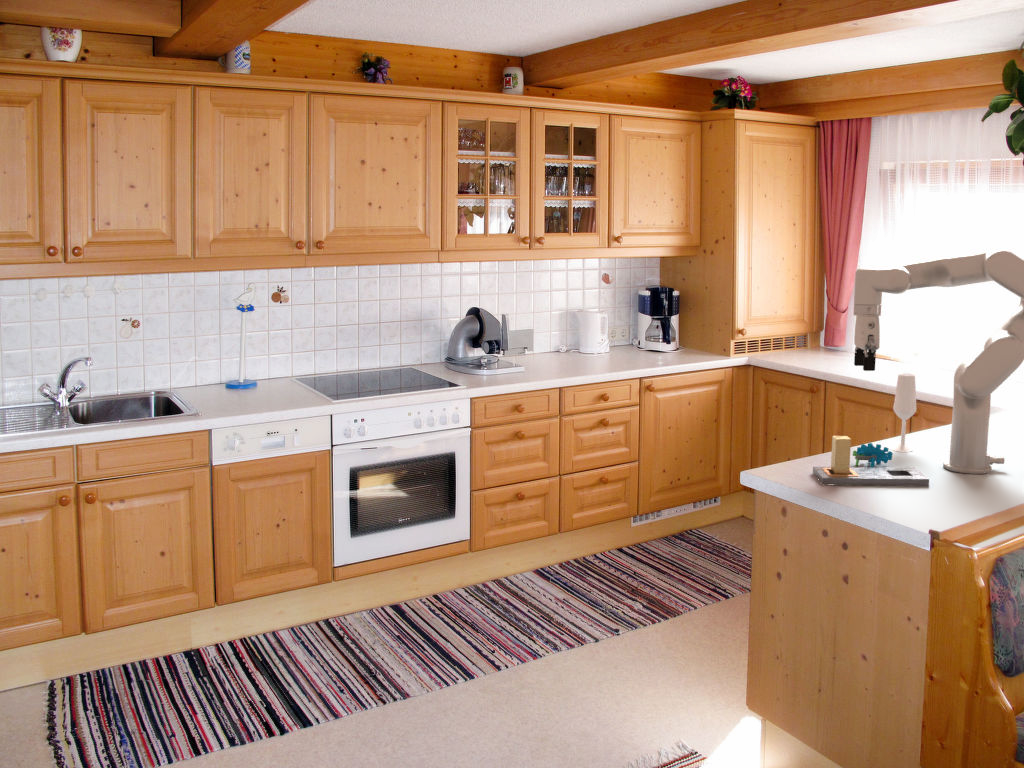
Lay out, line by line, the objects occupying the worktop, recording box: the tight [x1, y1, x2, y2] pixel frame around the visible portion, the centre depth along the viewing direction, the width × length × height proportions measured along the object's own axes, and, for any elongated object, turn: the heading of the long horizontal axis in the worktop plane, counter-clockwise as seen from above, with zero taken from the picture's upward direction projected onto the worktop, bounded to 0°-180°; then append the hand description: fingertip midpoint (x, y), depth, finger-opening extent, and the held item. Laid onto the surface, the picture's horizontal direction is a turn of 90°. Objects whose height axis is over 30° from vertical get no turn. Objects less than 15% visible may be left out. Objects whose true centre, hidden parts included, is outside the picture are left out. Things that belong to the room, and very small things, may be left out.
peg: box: [830, 435, 852, 475], centre depth 257 cm, size 4×4×12 cm
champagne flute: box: [890, 372, 917, 453], centre depth 289 cm, size 7×7×24 cm
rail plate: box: [812, 466, 930, 487], centre depth 257 cm, size 28×12×2 cm, turn 84°
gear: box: [852, 442, 893, 467], centre depth 271 cm, size 11×6×10 cm
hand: (864, 368), depth 273 cm, fingers open, 9 cm apart
